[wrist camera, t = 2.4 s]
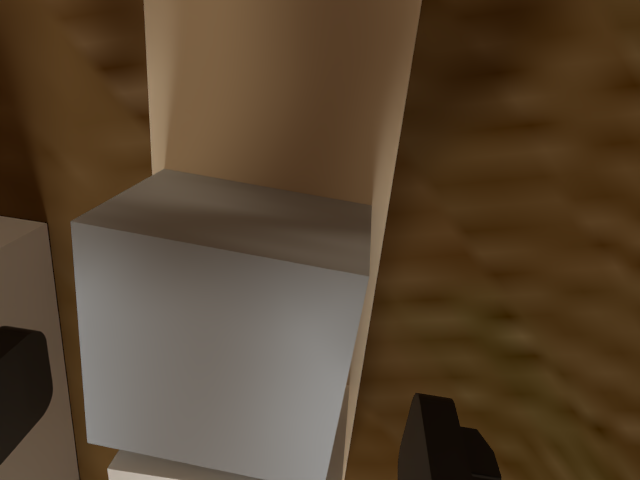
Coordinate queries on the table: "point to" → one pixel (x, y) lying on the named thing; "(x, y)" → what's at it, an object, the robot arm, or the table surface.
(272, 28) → the tan long block
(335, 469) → the cream white block
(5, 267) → the white rectangular box
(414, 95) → the table surface
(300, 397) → the grey block
